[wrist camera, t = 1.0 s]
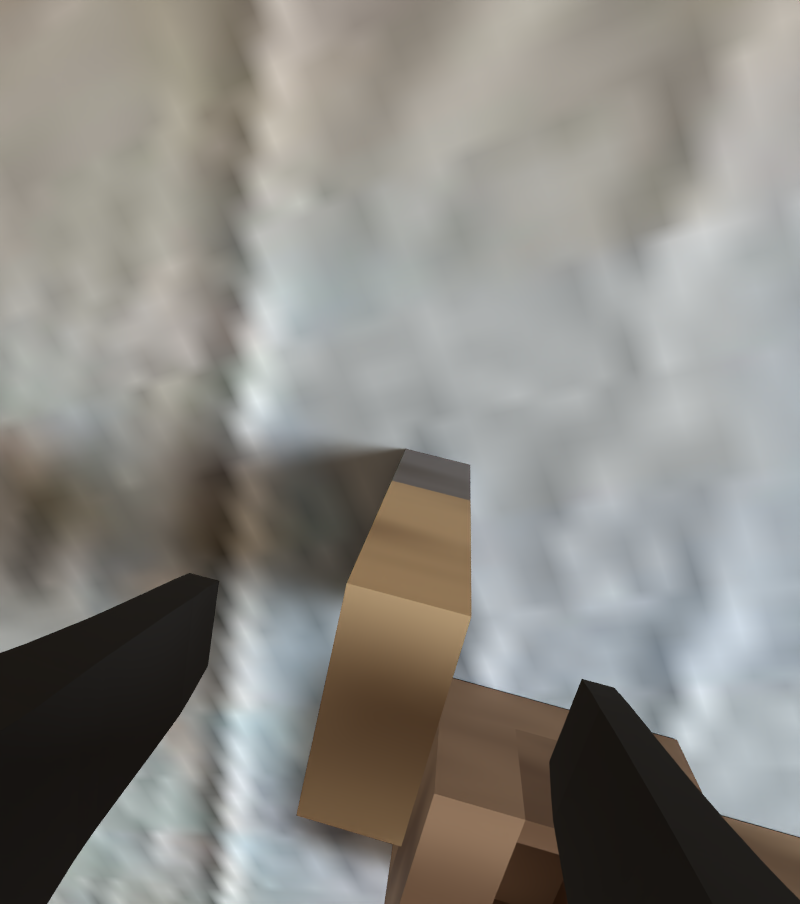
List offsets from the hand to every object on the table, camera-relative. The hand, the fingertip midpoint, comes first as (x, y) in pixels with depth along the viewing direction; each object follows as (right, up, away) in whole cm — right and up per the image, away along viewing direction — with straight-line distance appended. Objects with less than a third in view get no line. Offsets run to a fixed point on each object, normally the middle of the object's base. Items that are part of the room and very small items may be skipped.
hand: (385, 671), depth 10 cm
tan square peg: (+1, +2, +6) cm, 7 cm away
